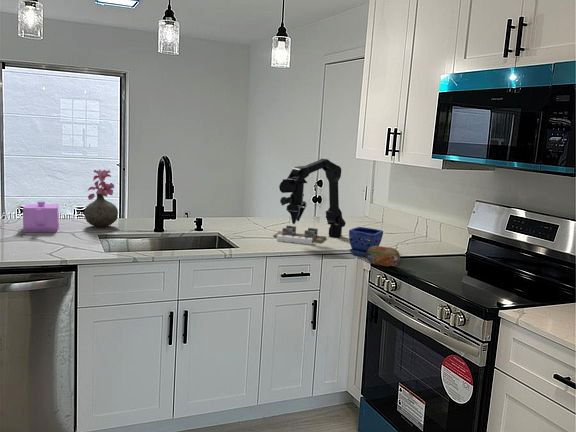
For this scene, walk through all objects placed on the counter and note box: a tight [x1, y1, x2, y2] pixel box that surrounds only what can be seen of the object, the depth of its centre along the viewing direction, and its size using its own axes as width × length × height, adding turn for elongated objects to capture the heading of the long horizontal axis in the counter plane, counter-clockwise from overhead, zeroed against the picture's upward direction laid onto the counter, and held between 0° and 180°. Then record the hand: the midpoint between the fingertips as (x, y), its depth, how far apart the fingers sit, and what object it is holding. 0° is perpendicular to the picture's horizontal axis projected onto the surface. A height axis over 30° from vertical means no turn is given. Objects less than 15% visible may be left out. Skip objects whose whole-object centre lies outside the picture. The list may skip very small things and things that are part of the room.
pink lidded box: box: [22, 200, 60, 233], centre depth 267 cm, size 15×25×14 cm, turn 20°
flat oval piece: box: [365, 245, 401, 268], centre depth 240 cm, size 15×3×8 cm, turn 62°
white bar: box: [276, 235, 313, 245], centre depth 276 cm, size 18×4×3 cm, turn 76°
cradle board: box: [272, 225, 327, 243], centre depth 288 cm, size 26×12×5 cm, turn 76°
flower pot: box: [348, 226, 384, 257], centre depth 258 cm, size 13×13×12 cm
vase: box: [84, 169, 119, 229], centre depth 281 cm, size 17×17×30 cm
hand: (295, 222), depth 275 cm, fingers open, 9 cm apart
